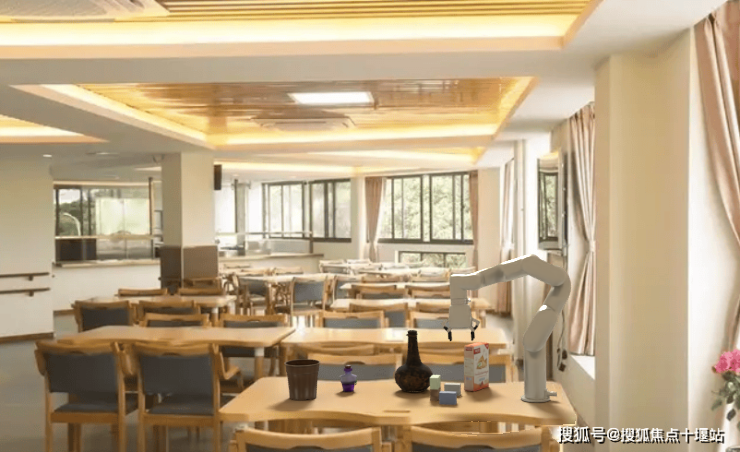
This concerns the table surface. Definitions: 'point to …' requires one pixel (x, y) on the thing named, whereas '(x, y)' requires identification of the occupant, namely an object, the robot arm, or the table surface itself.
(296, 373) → the plant pot
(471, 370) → the cracker box
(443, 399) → the blue block
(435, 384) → the sage brick
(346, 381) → the potion bottle
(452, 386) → the slate brick
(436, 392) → the walnut brick
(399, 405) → the table surface
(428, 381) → the glass bottle
